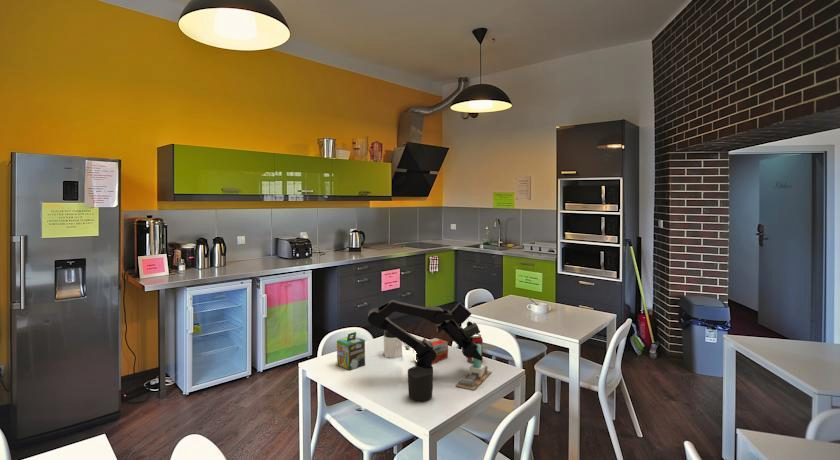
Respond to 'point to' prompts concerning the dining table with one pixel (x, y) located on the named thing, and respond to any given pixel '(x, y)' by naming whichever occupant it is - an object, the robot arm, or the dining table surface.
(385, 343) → the jar
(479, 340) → the soda can
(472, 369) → the carriage
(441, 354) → the medicine box
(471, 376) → the rail
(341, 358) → the chalk box
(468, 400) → the dining table surface
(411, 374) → the pen holder
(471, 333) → the robot arm
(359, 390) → the dining table surface
